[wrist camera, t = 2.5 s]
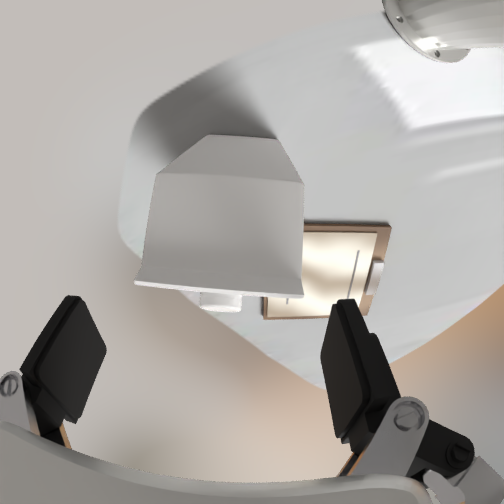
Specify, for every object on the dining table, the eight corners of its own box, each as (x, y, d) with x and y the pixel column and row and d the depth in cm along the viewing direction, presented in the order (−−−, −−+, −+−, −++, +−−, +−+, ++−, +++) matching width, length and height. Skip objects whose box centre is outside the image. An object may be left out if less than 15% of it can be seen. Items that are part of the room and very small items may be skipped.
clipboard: (264, 223, 30) (265, 228, 29) (389, 225, 30) (394, 230, 29) (263, 316, 37) (263, 323, 36) (365, 312, 37) (368, 318, 36)
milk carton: (206, 134, 25) (121, 202, 9) (279, 139, 25) (322, 216, 9) (204, 200, 29) (146, 338, 13) (271, 205, 29) (289, 351, 13)
